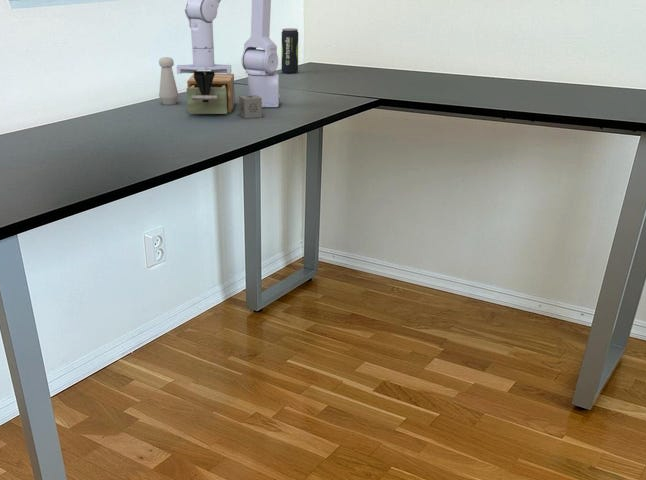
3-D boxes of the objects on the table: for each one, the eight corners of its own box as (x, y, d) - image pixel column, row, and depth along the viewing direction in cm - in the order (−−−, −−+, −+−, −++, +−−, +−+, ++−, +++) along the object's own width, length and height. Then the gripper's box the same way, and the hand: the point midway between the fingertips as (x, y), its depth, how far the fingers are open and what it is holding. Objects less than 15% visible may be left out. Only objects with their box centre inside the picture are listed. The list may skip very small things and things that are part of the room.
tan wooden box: (231, 112, 202) (229, 81, 198) (189, 112, 202) (187, 81, 198) (234, 103, 214) (233, 73, 209) (195, 103, 214) (193, 73, 210)
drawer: (225, 117, 192) (224, 91, 188) (185, 117, 192) (183, 91, 189) (230, 105, 207) (229, 80, 203) (194, 105, 207) (192, 80, 204)
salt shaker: (175, 105, 211) (171, 59, 205) (157, 105, 212) (153, 58, 206) (181, 102, 216) (178, 56, 210) (163, 101, 217) (160, 56, 211)
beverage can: (280, 73, 264) (280, 29, 256) (282, 71, 269) (282, 28, 261) (296, 74, 263) (297, 30, 255) (299, 71, 268) (299, 28, 260)
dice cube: (256, 113, 201) (256, 95, 198) (261, 116, 197) (261, 98, 194) (239, 114, 199) (239, 96, 197) (244, 118, 195) (244, 99, 193)
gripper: (173, 49, 182) (177, 104, 189) (228, 49, 182) (230, 104, 189) (177, 46, 188) (181, 99, 195) (231, 46, 188) (233, 99, 195)
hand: (205, 101), depth 192 cm, fingers closed, pressing on drawer
